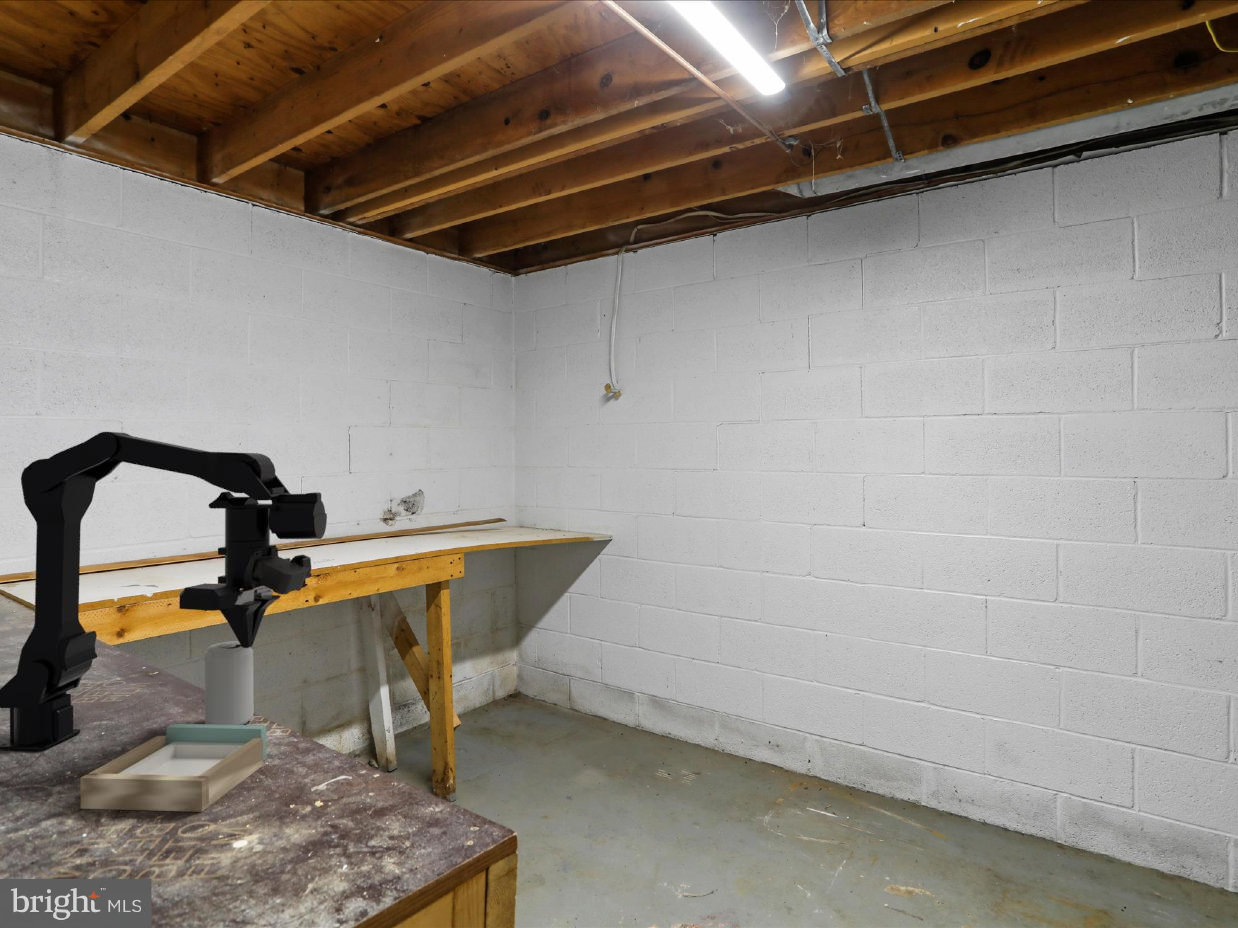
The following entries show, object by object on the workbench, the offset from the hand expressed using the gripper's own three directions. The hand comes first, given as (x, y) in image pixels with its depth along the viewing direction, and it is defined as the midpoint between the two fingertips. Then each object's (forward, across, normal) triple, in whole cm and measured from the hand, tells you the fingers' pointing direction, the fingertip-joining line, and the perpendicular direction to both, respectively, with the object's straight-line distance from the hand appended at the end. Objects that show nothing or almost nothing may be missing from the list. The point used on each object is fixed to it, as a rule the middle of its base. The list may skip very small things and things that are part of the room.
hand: (247, 647), depth 101 cm
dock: (+13, -14, -3) cm, 19 cm away
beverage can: (+13, +3, +6) cm, 15 cm away
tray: (+13, -14, -3) cm, 19 cm away
